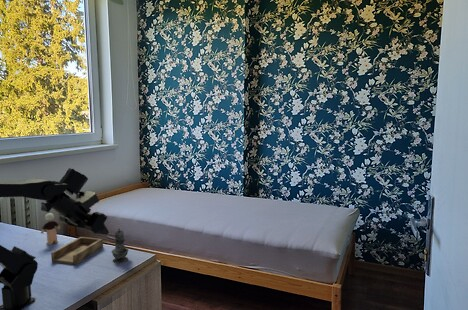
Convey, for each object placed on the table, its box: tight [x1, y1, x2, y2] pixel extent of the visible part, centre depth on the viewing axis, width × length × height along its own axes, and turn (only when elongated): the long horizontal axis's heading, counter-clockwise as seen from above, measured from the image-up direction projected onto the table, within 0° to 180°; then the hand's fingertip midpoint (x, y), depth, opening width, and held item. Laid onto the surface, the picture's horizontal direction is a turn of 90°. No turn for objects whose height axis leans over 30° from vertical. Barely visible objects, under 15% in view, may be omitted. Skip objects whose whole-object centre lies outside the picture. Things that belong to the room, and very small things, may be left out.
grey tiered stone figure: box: [111, 228, 129, 264], centre depth 127 cm, size 6×6×12 cm
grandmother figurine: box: [40, 212, 61, 246], centre depth 142 cm, size 8×4×13 cm, turn 157°
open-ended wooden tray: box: [50, 236, 104, 266], centre depth 132 cm, size 16×10×4 cm, turn 166°
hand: (99, 230), depth 119 cm, fingers open, 9 cm apart
